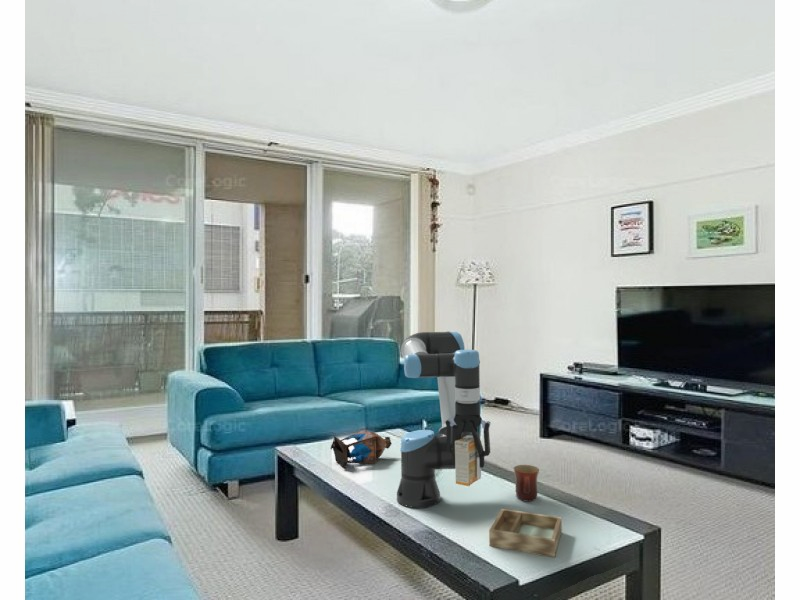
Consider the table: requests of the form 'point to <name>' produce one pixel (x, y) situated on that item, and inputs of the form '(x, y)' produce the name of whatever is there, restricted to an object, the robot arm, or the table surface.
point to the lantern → (360, 448)
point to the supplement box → (466, 461)
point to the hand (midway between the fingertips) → (468, 476)
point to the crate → (526, 532)
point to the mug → (526, 482)
